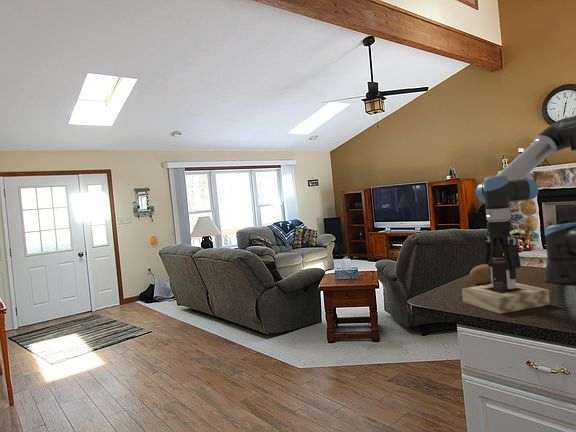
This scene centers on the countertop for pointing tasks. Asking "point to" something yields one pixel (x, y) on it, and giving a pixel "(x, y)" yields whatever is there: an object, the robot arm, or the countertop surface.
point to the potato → (481, 274)
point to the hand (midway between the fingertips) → (503, 286)
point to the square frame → (506, 298)
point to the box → (500, 275)
